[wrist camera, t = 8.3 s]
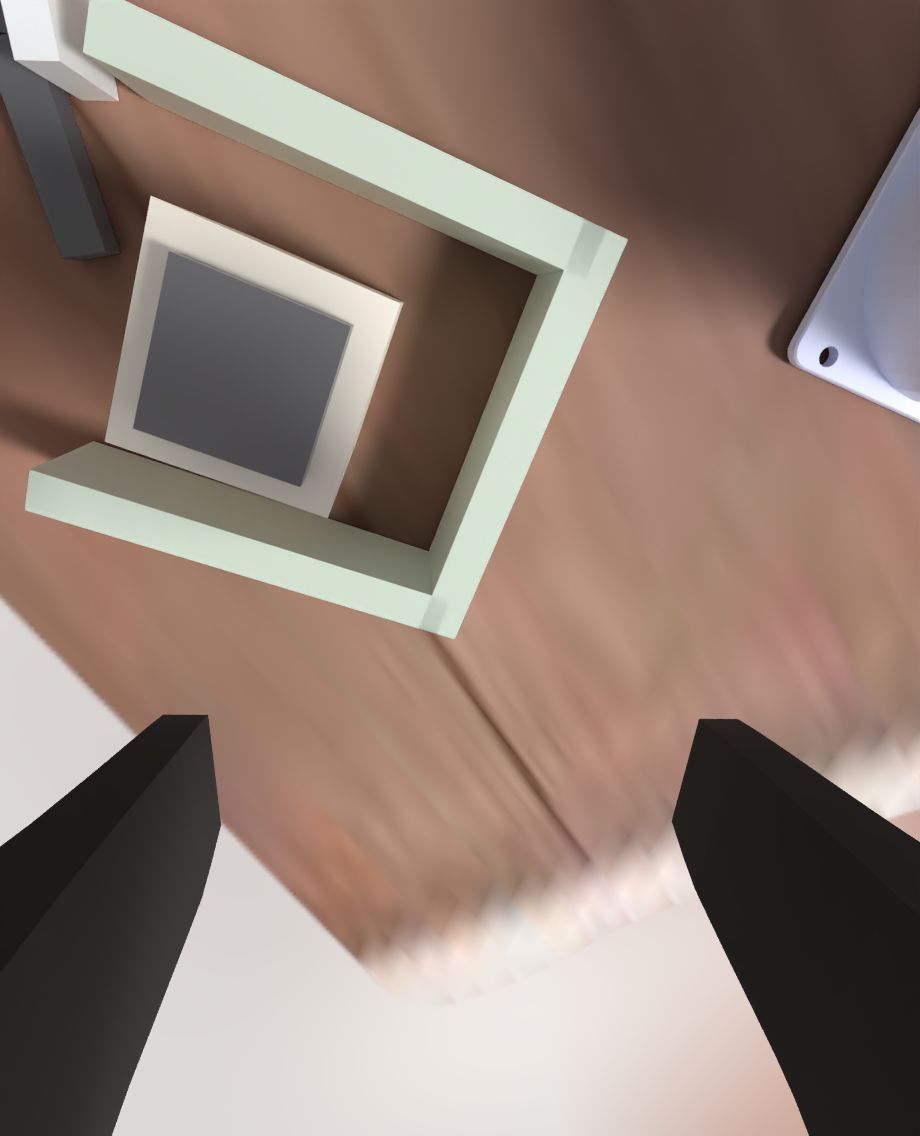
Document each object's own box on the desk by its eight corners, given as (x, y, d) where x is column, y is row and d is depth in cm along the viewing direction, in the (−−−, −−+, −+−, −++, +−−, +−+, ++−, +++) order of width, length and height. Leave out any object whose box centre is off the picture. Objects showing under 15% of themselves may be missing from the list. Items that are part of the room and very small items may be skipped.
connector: (354, 447, 17) (323, 529, 11) (207, 393, 16) (87, 449, 10) (403, 301, 16) (399, 303, 10) (246, 233, 15) (134, 188, 9)
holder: (589, 250, 15) (628, 239, 13) (447, 589, 19) (454, 639, 16) (157, 49, 13) (91, -16, 11) (88, 475, 17) (25, 510, 14)
